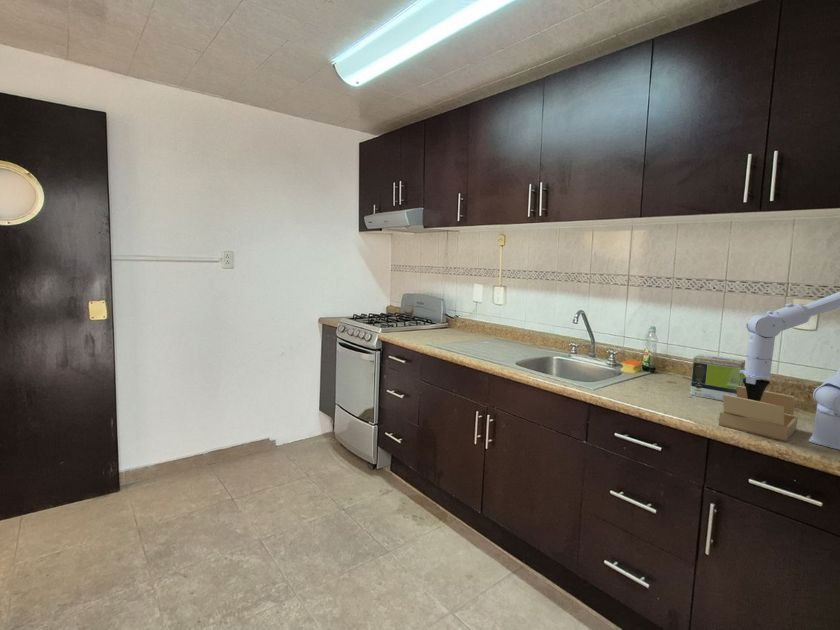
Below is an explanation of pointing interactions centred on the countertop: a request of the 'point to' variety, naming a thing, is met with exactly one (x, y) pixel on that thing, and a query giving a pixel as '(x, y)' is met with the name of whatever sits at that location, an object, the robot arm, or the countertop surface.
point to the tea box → (716, 376)
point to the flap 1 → (754, 409)
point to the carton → (760, 426)
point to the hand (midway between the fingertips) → (753, 404)
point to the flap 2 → (772, 399)
